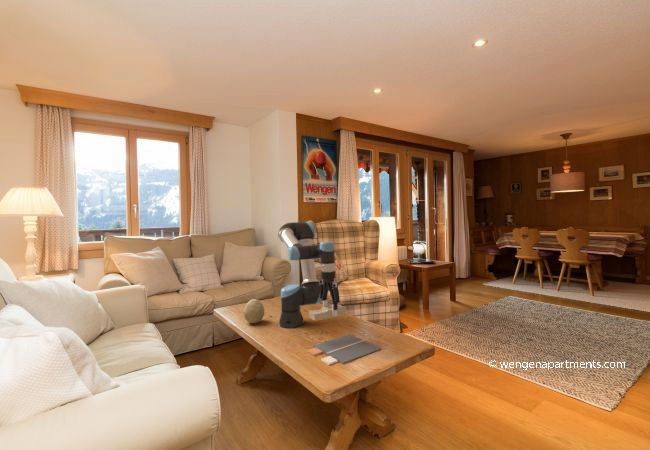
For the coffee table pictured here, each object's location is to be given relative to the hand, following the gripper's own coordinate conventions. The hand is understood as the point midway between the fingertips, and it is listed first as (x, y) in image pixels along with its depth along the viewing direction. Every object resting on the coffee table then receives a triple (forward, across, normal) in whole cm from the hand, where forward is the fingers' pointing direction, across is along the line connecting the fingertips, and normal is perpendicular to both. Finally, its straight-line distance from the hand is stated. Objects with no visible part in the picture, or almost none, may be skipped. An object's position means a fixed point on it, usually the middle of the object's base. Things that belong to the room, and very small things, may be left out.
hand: (330, 314), depth 168 cm
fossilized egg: (+13, -53, -21) cm, 59 cm away
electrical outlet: (+1, 0, -2) cm, 2 cm away
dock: (+15, +12, -2) cm, 19 cm away
